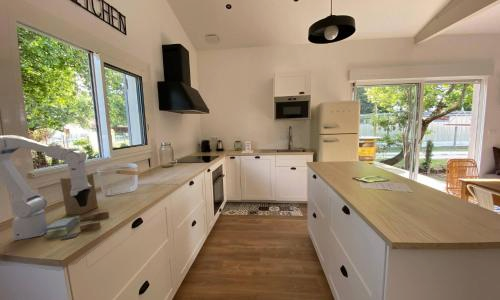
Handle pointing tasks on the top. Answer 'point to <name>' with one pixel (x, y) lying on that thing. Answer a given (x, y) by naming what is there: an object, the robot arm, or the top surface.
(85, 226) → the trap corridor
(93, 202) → the wooden block
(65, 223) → the slate block
